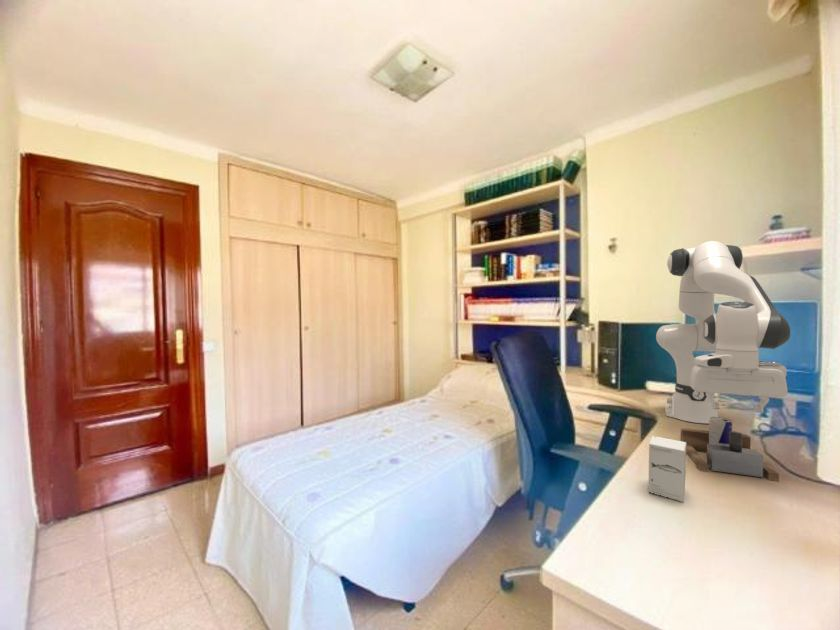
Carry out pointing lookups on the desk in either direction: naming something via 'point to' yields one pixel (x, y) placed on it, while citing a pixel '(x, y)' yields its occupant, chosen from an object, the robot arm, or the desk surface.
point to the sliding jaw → (735, 457)
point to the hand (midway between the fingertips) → (736, 410)
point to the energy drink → (719, 431)
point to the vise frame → (698, 443)
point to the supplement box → (667, 467)
